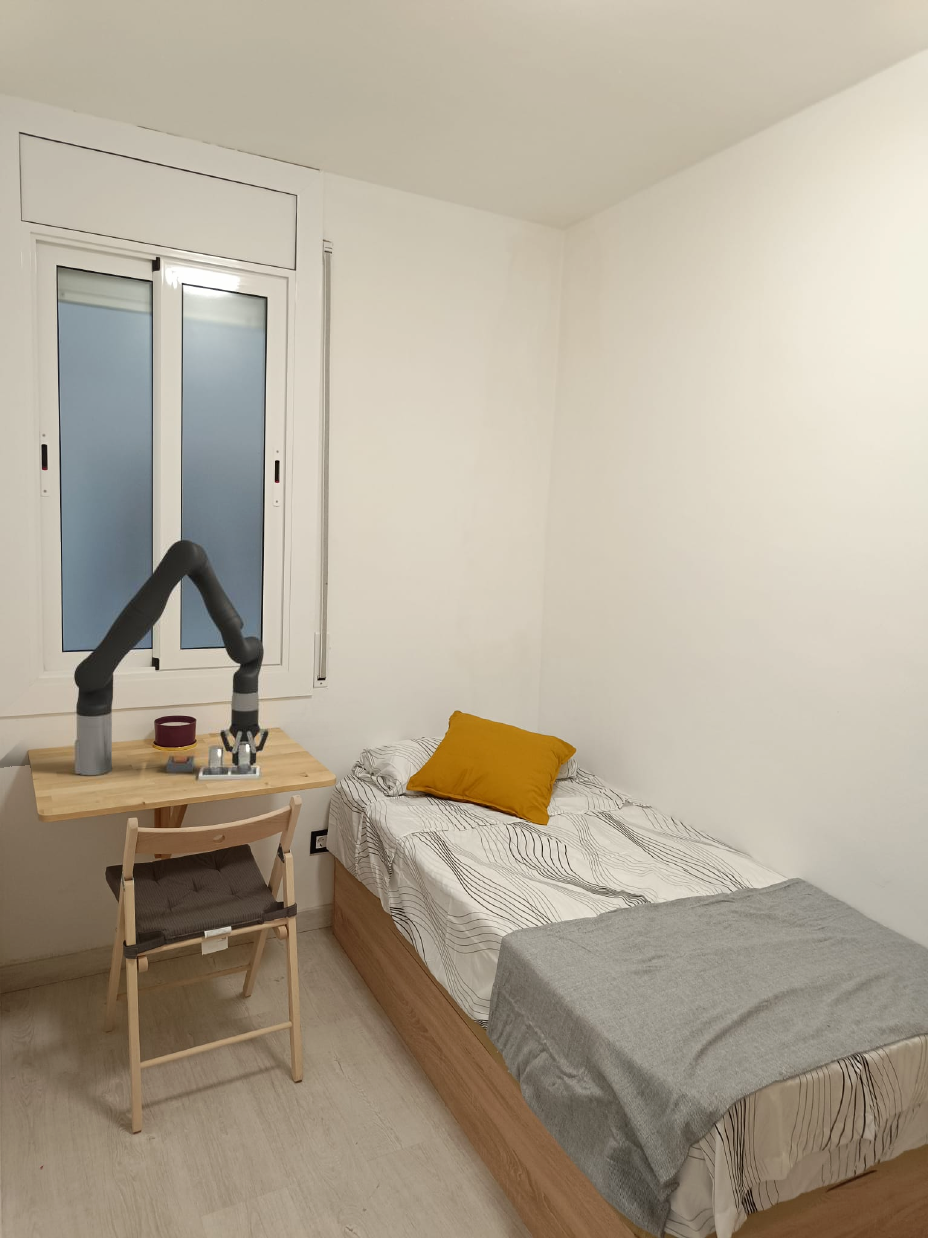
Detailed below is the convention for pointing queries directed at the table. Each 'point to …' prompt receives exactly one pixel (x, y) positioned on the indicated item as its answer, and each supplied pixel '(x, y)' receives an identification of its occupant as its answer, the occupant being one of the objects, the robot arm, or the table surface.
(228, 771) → the white divided tray
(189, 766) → the button housing
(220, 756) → the cylinder
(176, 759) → the button
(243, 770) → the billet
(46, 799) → the table surface
